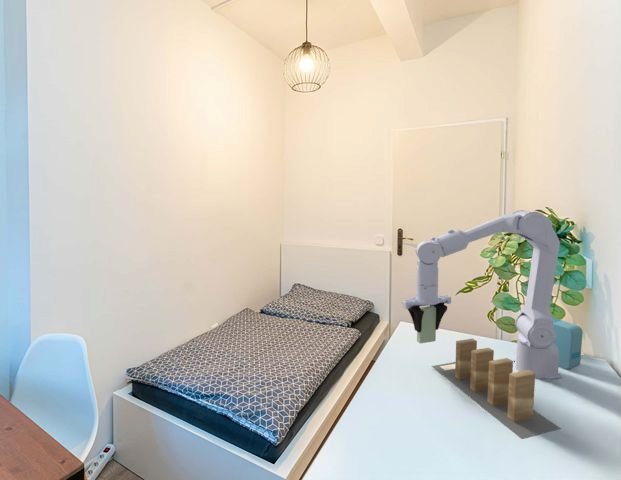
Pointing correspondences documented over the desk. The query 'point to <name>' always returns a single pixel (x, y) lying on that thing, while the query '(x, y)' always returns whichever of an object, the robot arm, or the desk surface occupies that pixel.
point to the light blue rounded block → (568, 343)
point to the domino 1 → (464, 358)
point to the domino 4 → (521, 395)
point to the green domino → (428, 325)
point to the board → (499, 407)
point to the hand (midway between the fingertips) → (426, 329)
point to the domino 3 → (499, 381)
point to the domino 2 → (480, 368)
